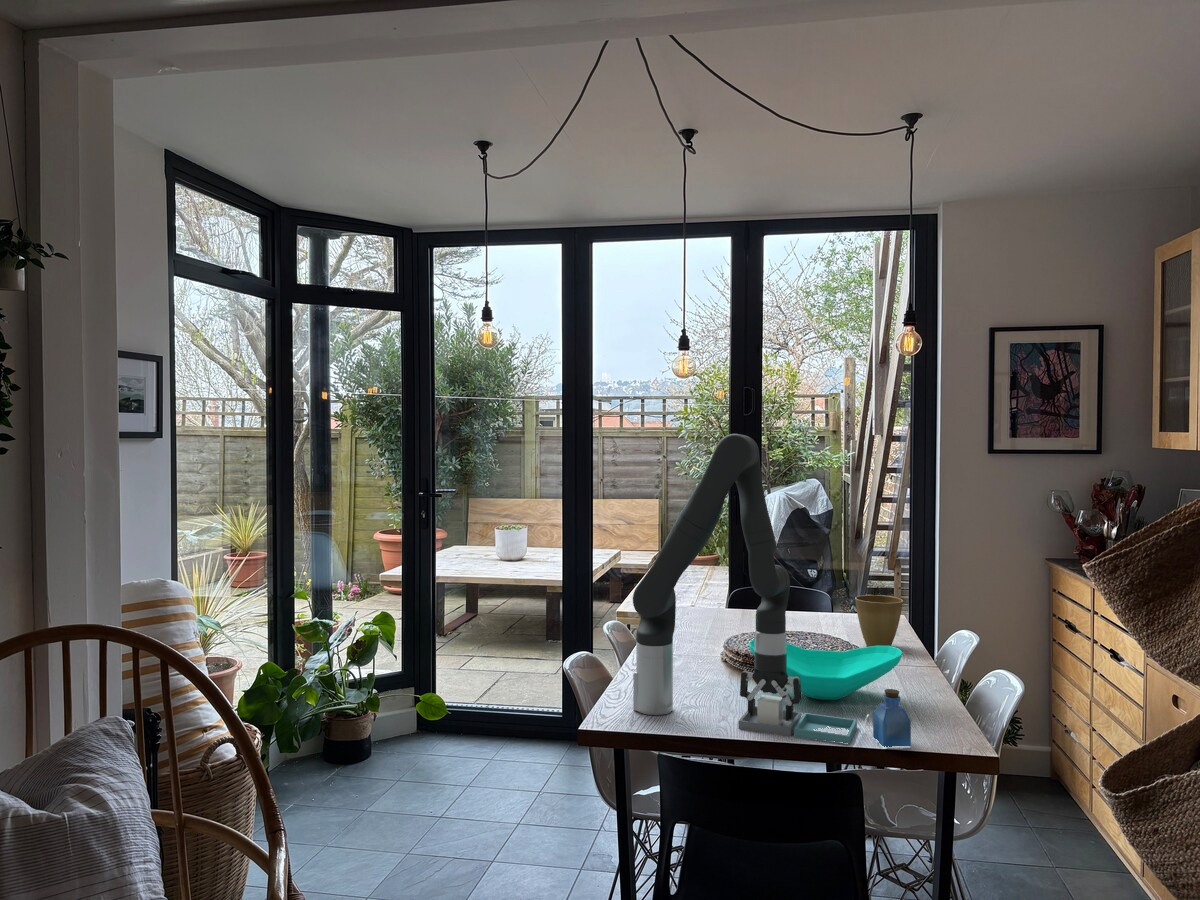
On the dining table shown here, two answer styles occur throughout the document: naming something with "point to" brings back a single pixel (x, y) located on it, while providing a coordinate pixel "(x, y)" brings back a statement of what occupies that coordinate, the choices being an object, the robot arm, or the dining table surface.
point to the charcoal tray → (785, 728)
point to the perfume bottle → (891, 721)
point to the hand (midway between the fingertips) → (770, 717)
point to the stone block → (770, 710)
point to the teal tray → (821, 721)
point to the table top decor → (838, 668)
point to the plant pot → (878, 618)
